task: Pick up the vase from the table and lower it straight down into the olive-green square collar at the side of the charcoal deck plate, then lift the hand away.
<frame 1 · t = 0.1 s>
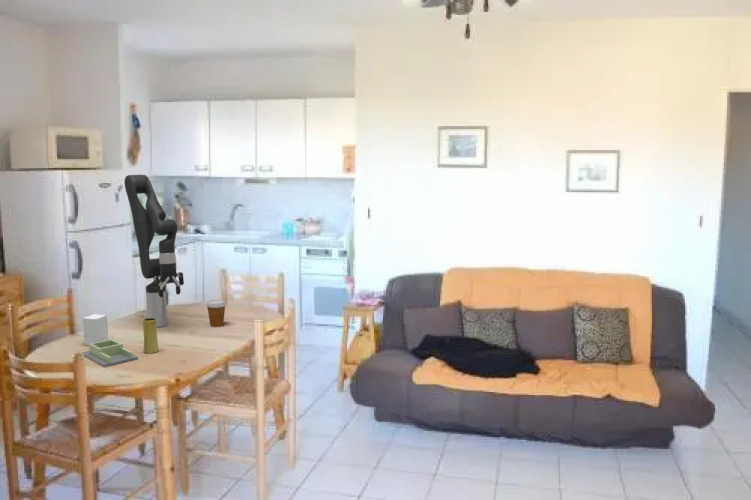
hand: (169, 295, 313), 17 cm above the table, tool pointing down, fingers open, 8 cm apart
vase: (151, 351, 285), on the table
disposable coffee cup: (216, 325, 326), on the table
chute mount: (106, 355, 279), on the table
supplement box: (96, 344, 295), on the table
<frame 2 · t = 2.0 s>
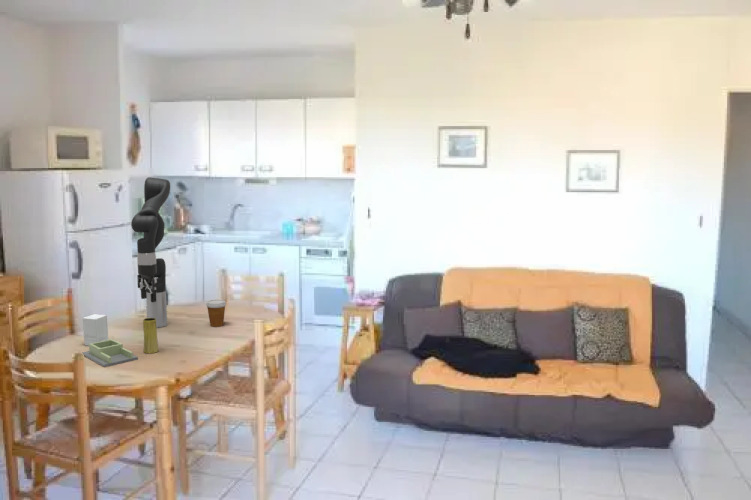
hand: (148, 300, 281), 23 cm above the table, tool pointing down, fingers open, 8 cm apart
nothing on the table moved.
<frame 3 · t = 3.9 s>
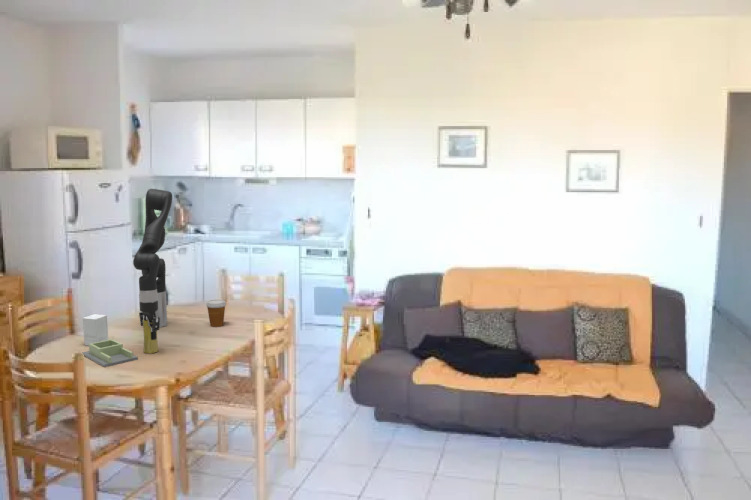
hand: (150, 337, 284), 6 cm above the table, tool pointing down, fingers closed on vase, 5 cm apart
vase: (151, 351, 285), on the table, touching gripper
everything else where it was.
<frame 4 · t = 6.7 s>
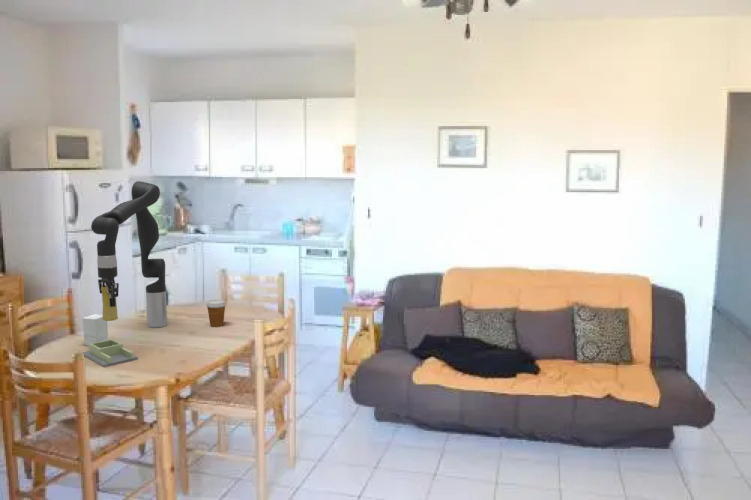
hand: (109, 305, 276), 22 cm above the table, tool pointing down, fingers closed on vase, 5 cm apart
vase: (110, 319, 277), point 15 cm above the table, touching gripper
everything else where it was.
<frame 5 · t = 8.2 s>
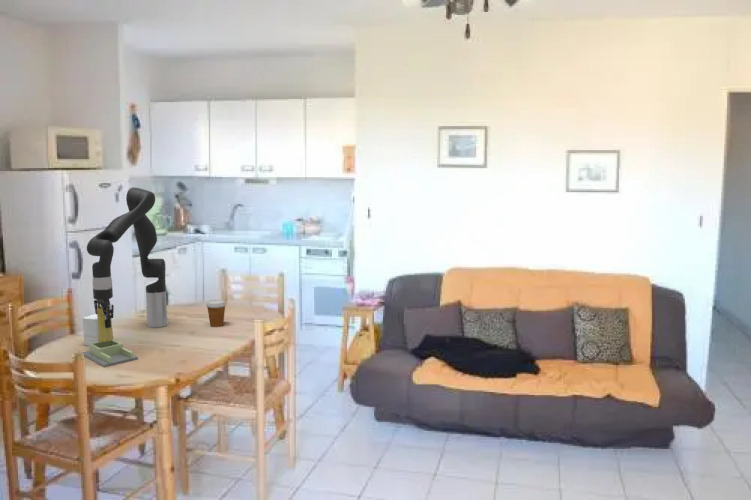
hand: (104, 326, 277), 13 cm above the table, tool pointing down, fingers closed on vase, 5 cm apart
vase: (105, 340, 278), point 6 cm above the table, touching gripper
everything else where it was.
when the fingers open (8 cm above the table, at t = 9.5 s): vase drops 1 cm, resting on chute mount.
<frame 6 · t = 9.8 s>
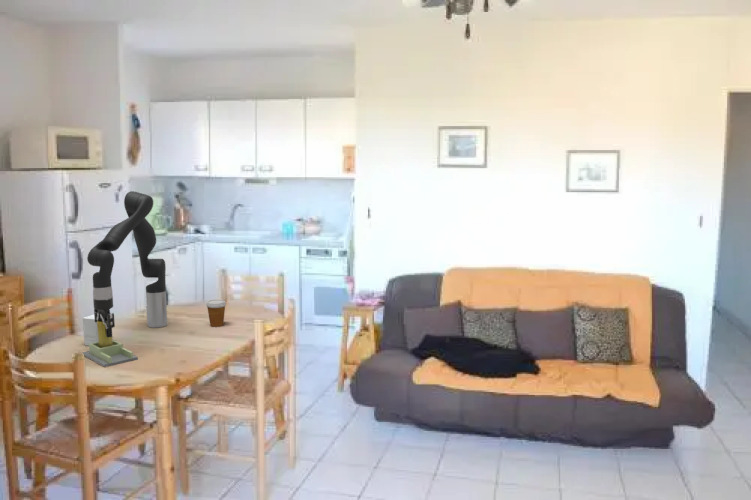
hand: (105, 334, 277), 9 cm above the table, tool pointing down, fingers open, 7 cm apart
vase: (106, 353, 279), point 1 cm above the table, touching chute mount
everything else where it was.
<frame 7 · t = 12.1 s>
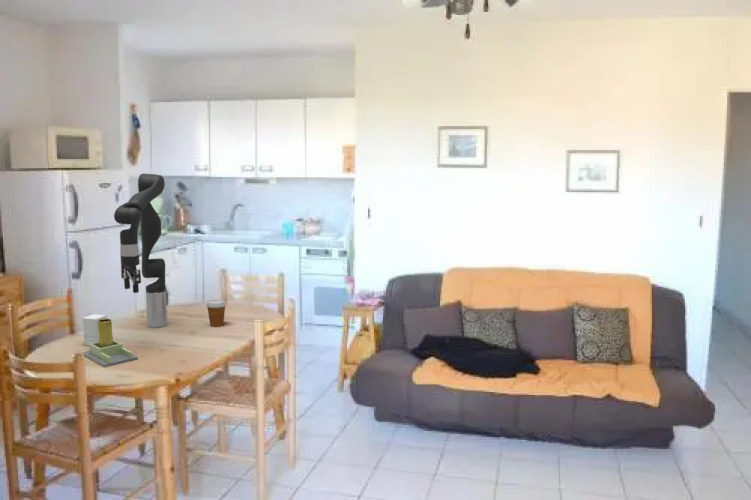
hand: (131, 290, 285), 26 cm above the table, tool pointing down, fingers open, 8 cm apart
nothing on the table moved.
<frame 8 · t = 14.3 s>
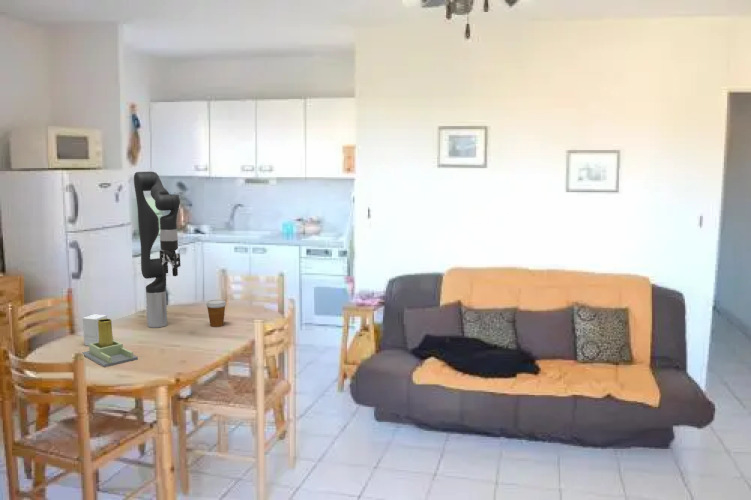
hand: (170, 274, 298), 30 cm above the table, tool pointing down, fingers open, 8 cm apart
nothing on the table moved.
at the end: vase 0.1 cm off-centre on the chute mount, point 0.8 cm above the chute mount's base; vase tilted 0°; the gripper is holding nothing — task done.
